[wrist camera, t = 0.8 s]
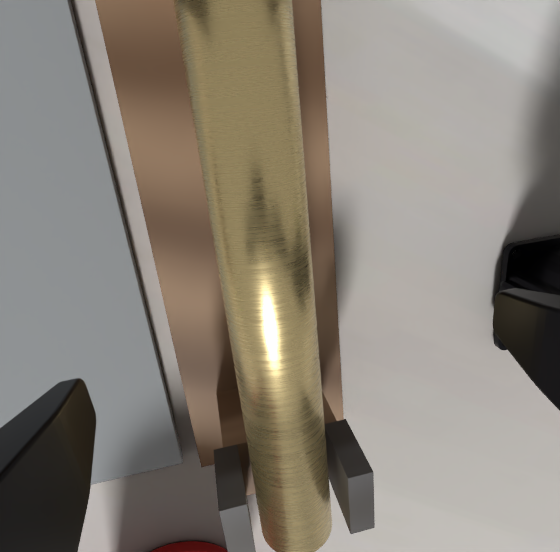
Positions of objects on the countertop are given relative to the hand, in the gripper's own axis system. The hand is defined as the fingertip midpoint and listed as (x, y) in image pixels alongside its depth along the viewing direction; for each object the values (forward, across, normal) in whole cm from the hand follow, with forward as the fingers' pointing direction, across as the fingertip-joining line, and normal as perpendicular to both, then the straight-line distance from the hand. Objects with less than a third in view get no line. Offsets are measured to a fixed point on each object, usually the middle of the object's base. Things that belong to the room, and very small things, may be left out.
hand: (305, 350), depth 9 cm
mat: (+12, +9, 0) cm, 15 cm away
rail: (+7, 0, 0) cm, 7 cm away
